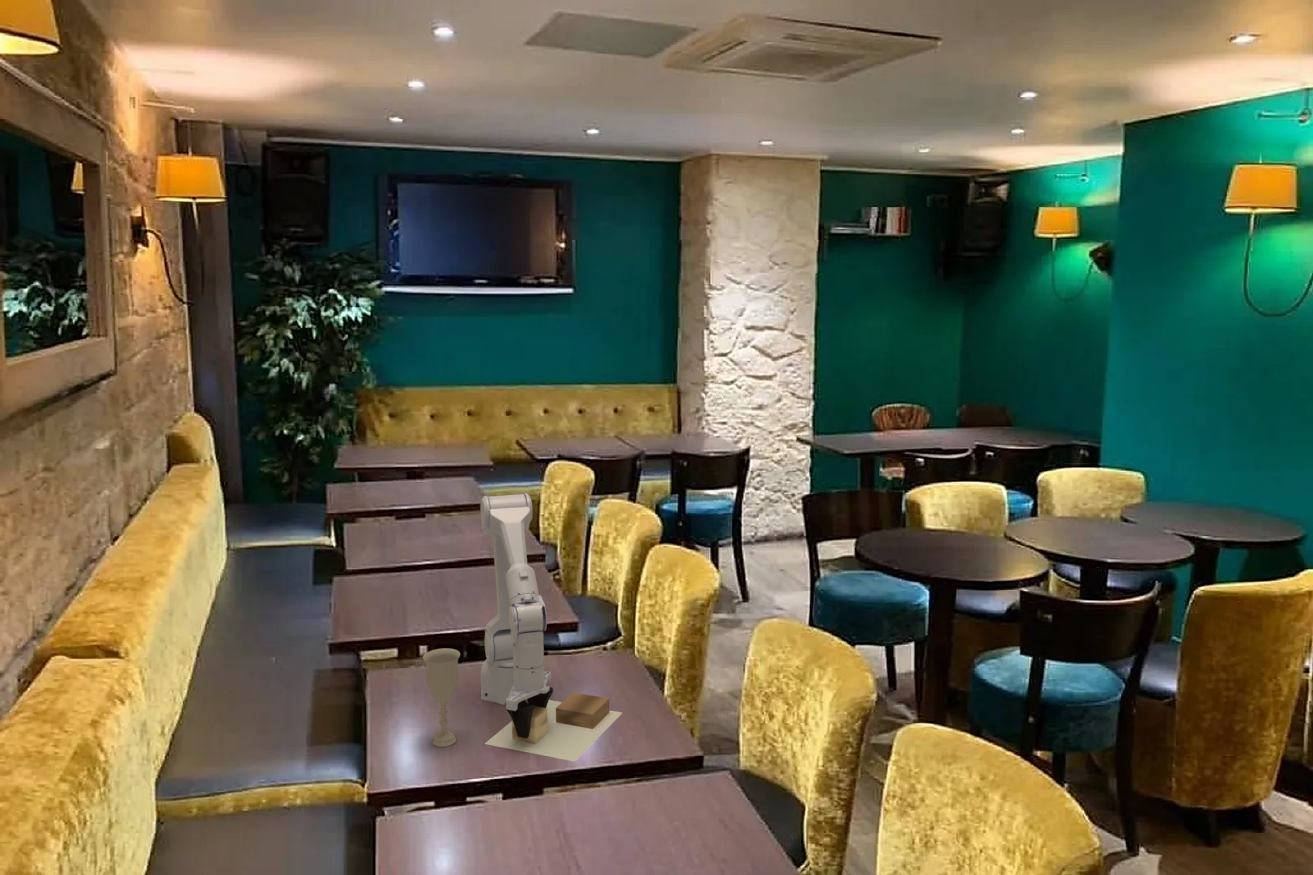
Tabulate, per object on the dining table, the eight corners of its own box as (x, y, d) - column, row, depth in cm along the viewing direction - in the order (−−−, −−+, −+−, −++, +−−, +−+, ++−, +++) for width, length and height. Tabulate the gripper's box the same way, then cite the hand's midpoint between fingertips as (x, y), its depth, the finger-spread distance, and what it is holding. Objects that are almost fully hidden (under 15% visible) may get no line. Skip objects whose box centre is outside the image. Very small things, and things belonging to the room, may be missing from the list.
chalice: (453, 756, 186) (450, 664, 183) (419, 752, 188) (416, 661, 185) (468, 738, 193) (466, 649, 190) (435, 735, 195) (432, 647, 192)
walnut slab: (556, 722, 198) (555, 708, 198) (573, 706, 206) (573, 692, 205) (592, 729, 196) (592, 714, 195) (609, 712, 203) (609, 698, 202)
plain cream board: (484, 748, 190) (484, 743, 189) (539, 701, 210) (539, 697, 210) (575, 766, 183) (575, 761, 183) (622, 716, 203) (622, 712, 203)
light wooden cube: (512, 739, 191) (511, 714, 190) (524, 728, 196) (524, 704, 195) (535, 743, 190) (535, 719, 189) (547, 732, 194) (547, 708, 193)
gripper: (529, 681, 182) (530, 750, 184) (564, 653, 195) (565, 718, 198) (495, 675, 185) (496, 744, 187) (532, 648, 198) (533, 712, 200)
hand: (530, 730), depth 193 cm, fingers closed on light wooden cube, 5 cm apart
